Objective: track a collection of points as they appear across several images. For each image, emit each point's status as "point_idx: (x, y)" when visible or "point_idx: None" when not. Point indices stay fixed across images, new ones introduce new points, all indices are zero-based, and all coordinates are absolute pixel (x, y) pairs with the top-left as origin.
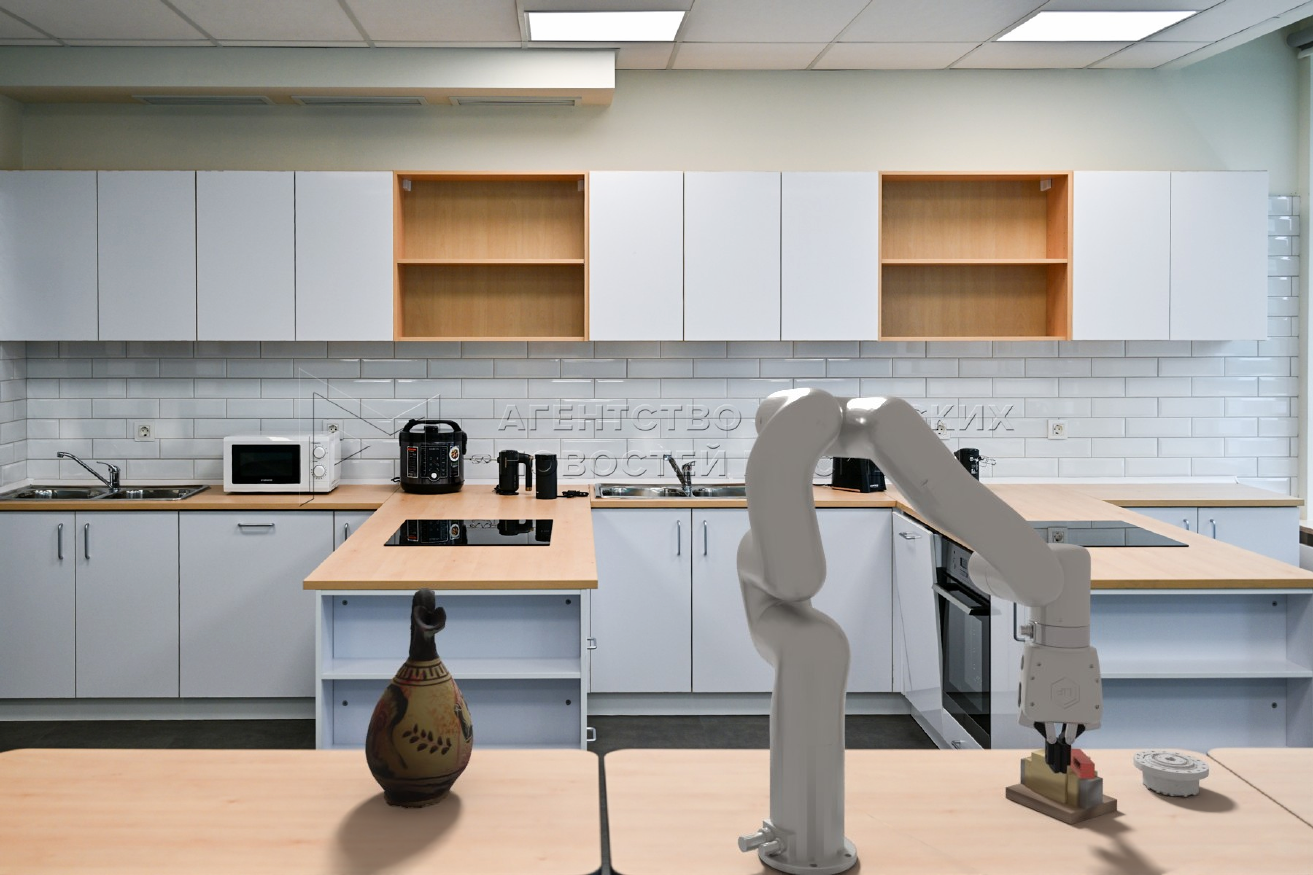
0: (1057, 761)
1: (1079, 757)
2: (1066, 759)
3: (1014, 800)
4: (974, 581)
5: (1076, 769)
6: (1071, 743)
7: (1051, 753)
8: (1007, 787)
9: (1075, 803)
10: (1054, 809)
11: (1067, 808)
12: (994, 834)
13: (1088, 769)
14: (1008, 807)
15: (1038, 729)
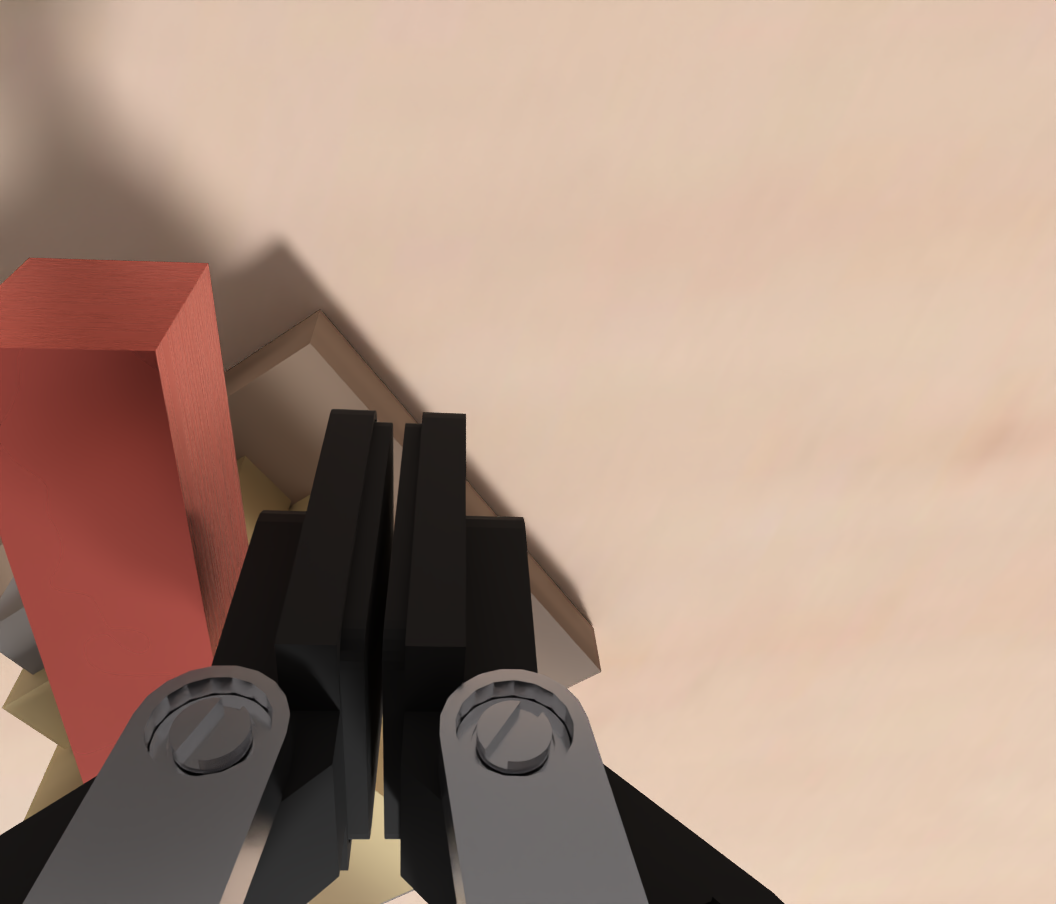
0: (436, 486)
1: (133, 553)
2: (320, 499)
3: (562, 592)
4: None
5: (216, 422)
6: (201, 675)
7: (490, 593)
8: (591, 668)
9: (245, 467)
10: (396, 427)
11: (312, 421)
12: (913, 104)
13: (66, 309)
14: (629, 514)
15: (737, 886)
